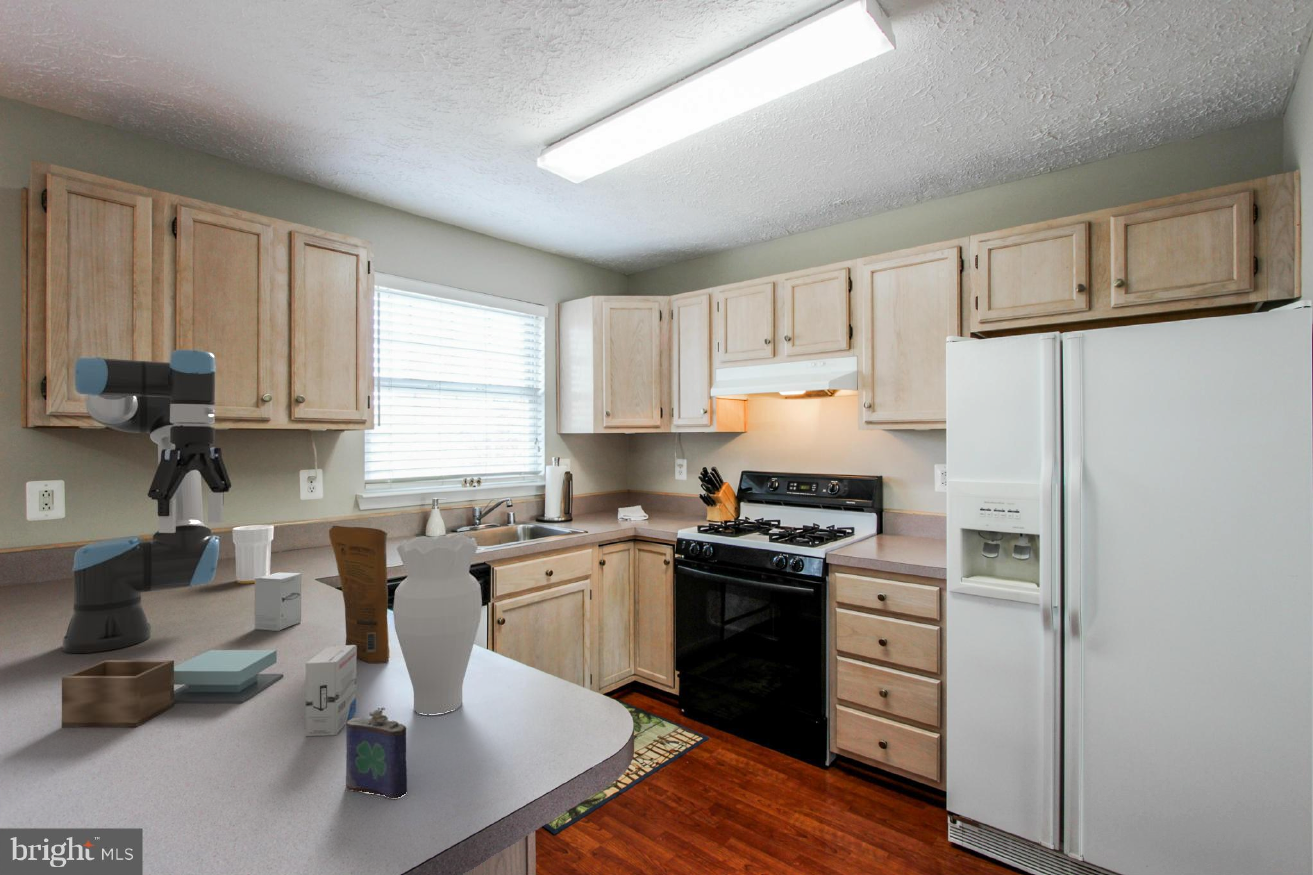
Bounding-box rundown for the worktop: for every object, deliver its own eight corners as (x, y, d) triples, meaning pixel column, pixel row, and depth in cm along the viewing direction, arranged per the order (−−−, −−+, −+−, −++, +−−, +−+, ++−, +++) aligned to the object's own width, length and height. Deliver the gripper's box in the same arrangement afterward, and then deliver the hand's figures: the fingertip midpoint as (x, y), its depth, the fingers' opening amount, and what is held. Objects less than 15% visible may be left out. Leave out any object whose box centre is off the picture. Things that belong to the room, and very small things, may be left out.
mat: (157, 702, 111) (157, 699, 111) (206, 676, 123) (206, 673, 123) (242, 702, 111) (242, 699, 111) (283, 676, 123) (283, 673, 123)
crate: (61, 727, 102) (61, 677, 102) (105, 705, 110) (105, 660, 110) (135, 727, 102) (135, 678, 102) (173, 706, 110) (174, 660, 110)
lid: (165, 697, 112) (165, 670, 112) (210, 674, 123) (210, 649, 123) (238, 698, 111) (238, 671, 111) (276, 674, 122) (276, 650, 122)
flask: (341, 789, 84) (341, 709, 84) (357, 778, 87) (358, 700, 87) (398, 802, 81) (398, 719, 81) (413, 790, 84) (414, 709, 84)
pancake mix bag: (371, 670, 127) (371, 531, 126) (325, 650, 138) (325, 523, 138) (402, 660, 132) (402, 527, 132) (355, 642, 143) (355, 520, 143)
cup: (280, 579, 207) (280, 526, 207) (242, 586, 197) (242, 530, 197) (262, 575, 213) (263, 523, 213) (225, 581, 203) (225, 527, 203)
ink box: (327, 713, 107) (327, 644, 107) (357, 712, 107) (357, 643, 107) (303, 737, 98) (303, 662, 98) (336, 736, 99) (336, 661, 99)
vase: (414, 688, 117) (414, 533, 117) (492, 689, 117) (492, 533, 117) (376, 724, 103) (377, 547, 103) (465, 726, 102) (466, 547, 102)
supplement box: (279, 631, 152) (279, 579, 152) (253, 629, 153) (253, 577, 153) (302, 622, 159) (302, 572, 159) (277, 620, 160) (277, 571, 160)
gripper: (163, 425, 118) (163, 537, 118) (249, 425, 143) (249, 518, 143) (124, 424, 118) (123, 537, 118) (216, 425, 143) (216, 518, 143)
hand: (192, 527), depth 131 cm, fingers open, 13 cm apart
